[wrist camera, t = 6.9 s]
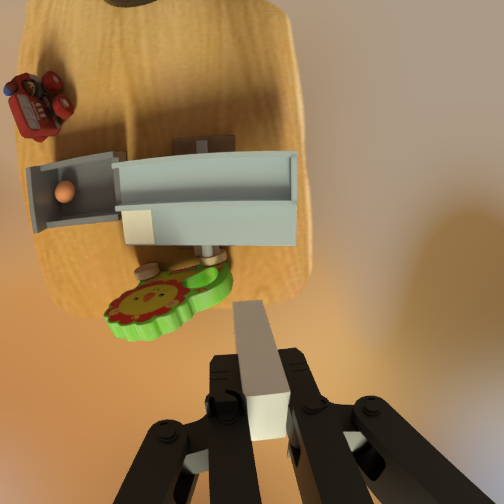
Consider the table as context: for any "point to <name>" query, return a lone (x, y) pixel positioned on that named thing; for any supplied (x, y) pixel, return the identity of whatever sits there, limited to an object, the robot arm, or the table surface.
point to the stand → (214, 146)
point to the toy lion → (168, 298)
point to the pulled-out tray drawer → (86, 191)
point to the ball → (65, 191)
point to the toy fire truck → (37, 105)
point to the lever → (210, 199)
